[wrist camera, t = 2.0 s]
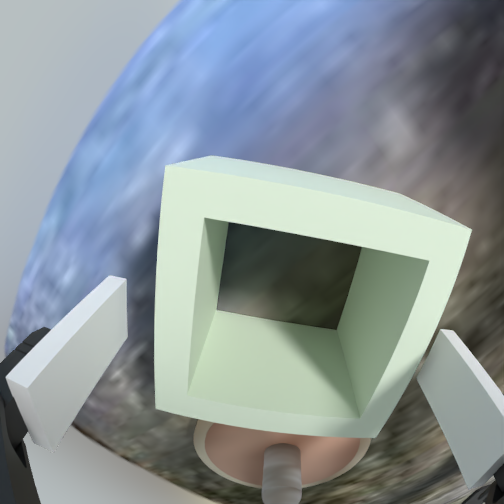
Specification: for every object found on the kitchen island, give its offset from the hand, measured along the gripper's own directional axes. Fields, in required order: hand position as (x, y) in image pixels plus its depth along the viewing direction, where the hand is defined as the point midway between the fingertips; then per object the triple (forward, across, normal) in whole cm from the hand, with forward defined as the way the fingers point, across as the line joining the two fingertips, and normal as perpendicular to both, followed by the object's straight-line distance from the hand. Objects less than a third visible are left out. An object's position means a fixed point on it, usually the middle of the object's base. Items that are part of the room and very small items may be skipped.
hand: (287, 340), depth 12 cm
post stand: (+8, +4, -16) cm, 18 cm away
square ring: (+8, 0, 0) cm, 8 cm away
